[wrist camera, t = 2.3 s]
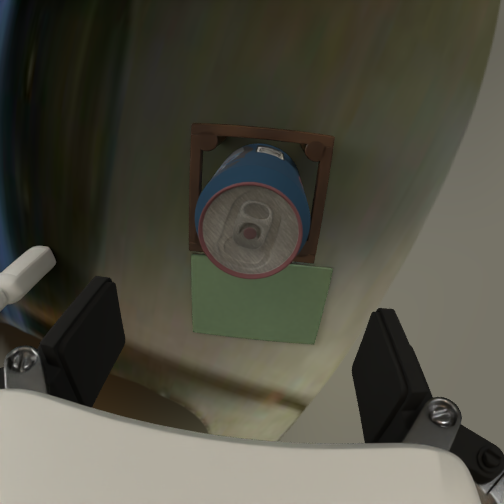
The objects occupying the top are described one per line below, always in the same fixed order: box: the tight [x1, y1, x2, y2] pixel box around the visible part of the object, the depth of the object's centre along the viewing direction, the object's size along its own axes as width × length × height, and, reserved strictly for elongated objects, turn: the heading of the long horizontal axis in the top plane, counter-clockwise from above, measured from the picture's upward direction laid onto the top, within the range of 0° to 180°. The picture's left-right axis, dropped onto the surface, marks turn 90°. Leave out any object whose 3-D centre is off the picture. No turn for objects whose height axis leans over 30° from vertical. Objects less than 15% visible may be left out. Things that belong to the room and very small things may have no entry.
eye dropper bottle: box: [0, 246, 56, 311], centre depth 29 cm, size 4×6×12 cm
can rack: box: [189, 123, 335, 263], centre depth 26 cm, size 10×10×5 cm
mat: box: [191, 254, 333, 344], centre depth 34 cm, size 14×10×1 cm
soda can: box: [195, 144, 310, 279], centre depth 23 cm, size 7×7×12 cm
